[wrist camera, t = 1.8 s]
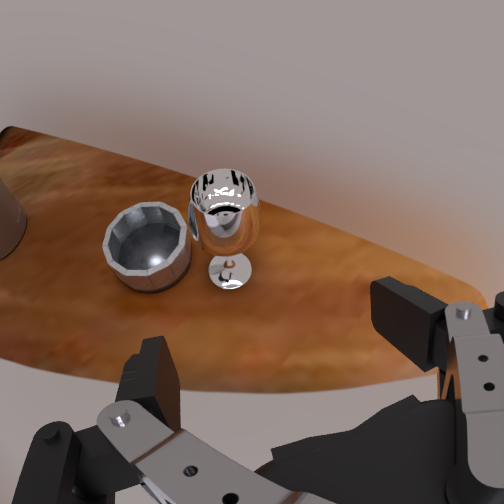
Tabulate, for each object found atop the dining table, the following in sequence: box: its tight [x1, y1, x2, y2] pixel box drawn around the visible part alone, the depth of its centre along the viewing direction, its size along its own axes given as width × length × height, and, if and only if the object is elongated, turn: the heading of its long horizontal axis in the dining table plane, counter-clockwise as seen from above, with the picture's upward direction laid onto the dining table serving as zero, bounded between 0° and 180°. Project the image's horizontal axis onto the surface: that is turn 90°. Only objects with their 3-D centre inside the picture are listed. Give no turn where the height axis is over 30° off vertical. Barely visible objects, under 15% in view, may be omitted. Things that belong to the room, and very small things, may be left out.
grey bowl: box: [103, 202, 192, 293], centre depth 32 cm, size 9×9×4 cm
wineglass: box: [188, 169, 261, 289], centre depth 28 cm, size 6×6×12 cm
